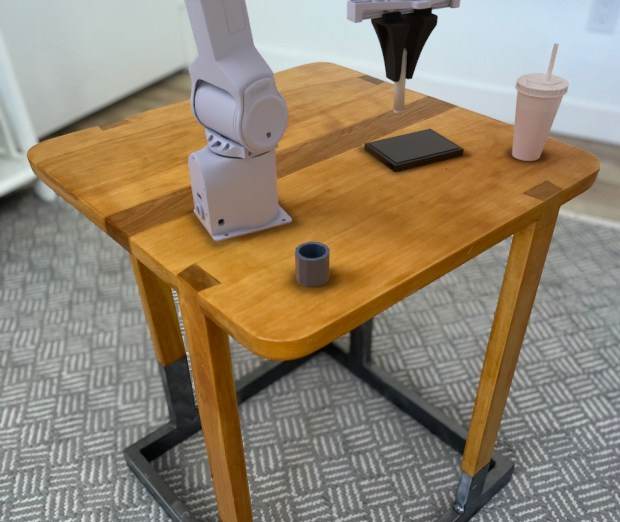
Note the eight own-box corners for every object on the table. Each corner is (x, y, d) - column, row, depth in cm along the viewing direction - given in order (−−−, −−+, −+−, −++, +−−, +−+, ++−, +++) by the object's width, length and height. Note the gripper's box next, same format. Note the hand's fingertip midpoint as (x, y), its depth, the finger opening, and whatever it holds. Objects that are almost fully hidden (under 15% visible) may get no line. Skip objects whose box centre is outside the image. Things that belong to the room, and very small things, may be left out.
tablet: (394, 172, 81) (395, 164, 80) (364, 149, 86) (364, 142, 85) (463, 155, 84) (464, 148, 84) (429, 134, 90) (430, 127, 89)
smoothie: (552, 167, 81) (582, 53, 72) (502, 163, 82) (525, 50, 73) (548, 147, 86) (576, 37, 76) (501, 143, 87) (522, 35, 77)
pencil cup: (305, 293, 61) (304, 263, 59) (290, 276, 64) (289, 246, 61) (335, 284, 62) (335, 254, 60) (320, 267, 65) (319, 238, 62)
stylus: (396, 117, 79) (399, 49, 74) (390, 114, 80) (393, 46, 75) (405, 115, 80) (409, 47, 75) (399, 112, 81) (403, 45, 76)
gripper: (371, -39, 63) (365, 97, 72) (485, -51, 68) (465, 78, 77) (338, -49, 68) (336, 80, 77) (446, -60, 73) (432, 62, 82)
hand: (399, 78), depth 77 cm, fingers closed on stylus, 1 cm apart
